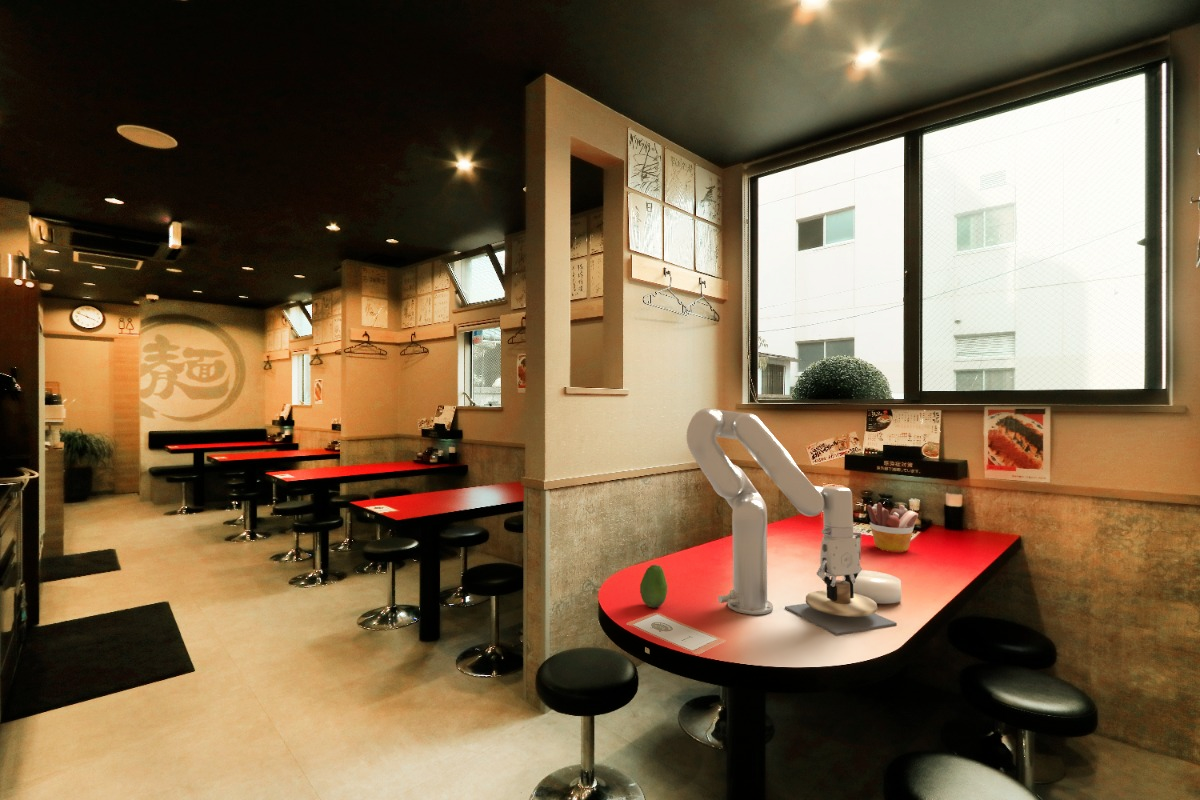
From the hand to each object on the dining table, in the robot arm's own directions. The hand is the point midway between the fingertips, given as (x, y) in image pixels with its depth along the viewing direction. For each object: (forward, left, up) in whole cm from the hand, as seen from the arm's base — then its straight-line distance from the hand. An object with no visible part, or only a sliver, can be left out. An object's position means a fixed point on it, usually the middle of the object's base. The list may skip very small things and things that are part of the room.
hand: (840, 597), depth 151 cm
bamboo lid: (0, 0, -2) cm, 2 cm away
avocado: (-45, +24, -6) cm, 52 cm away
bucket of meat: (+76, +52, -6) cm, 92 cm away
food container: (+46, +44, -6) cm, 64 cm away
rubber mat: (0, 0, -5) cm, 5 cm away
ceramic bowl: (+21, +9, -5) cm, 23 cm away
